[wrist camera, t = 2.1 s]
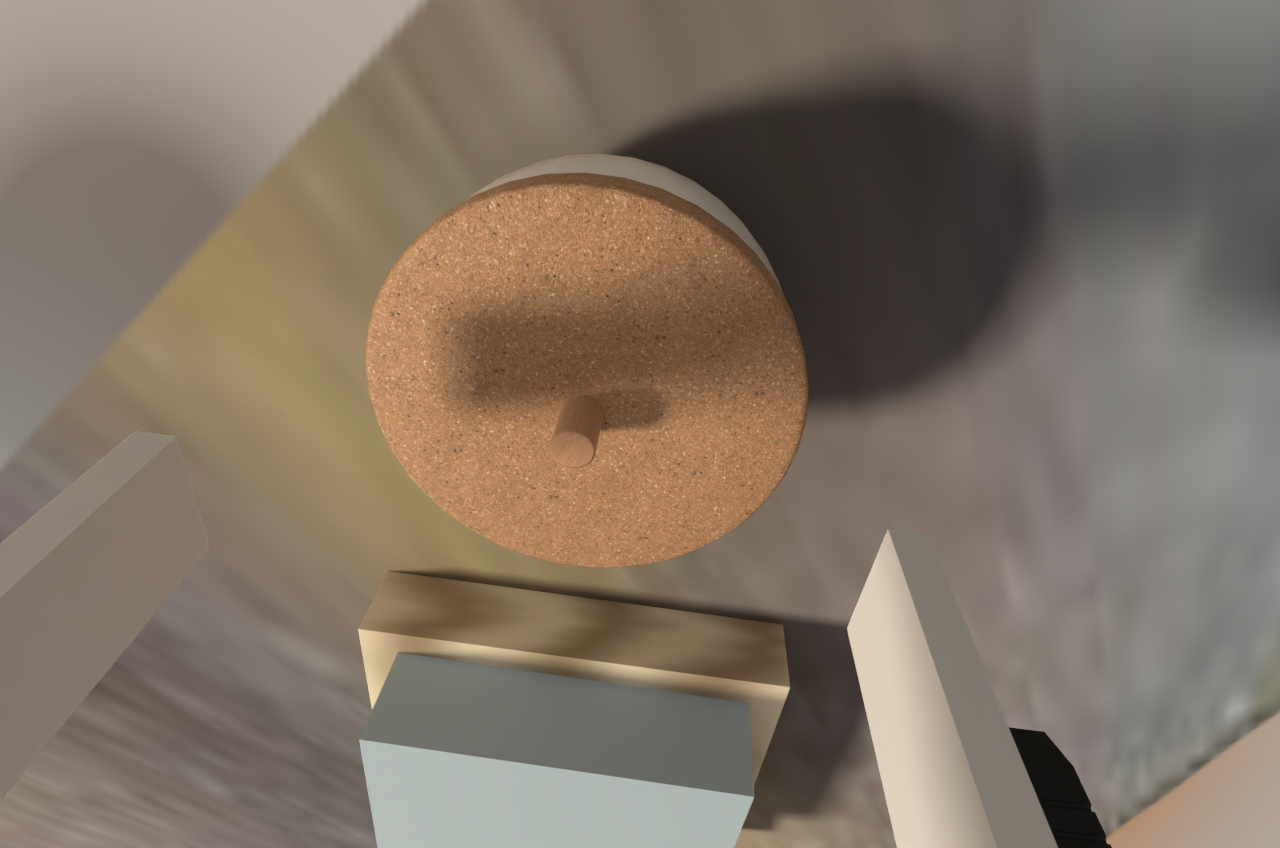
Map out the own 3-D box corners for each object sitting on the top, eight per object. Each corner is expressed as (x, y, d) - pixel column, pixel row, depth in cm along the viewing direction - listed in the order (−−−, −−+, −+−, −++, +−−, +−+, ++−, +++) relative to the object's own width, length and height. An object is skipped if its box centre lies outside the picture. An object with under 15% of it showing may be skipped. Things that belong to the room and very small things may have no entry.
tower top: (749, 703, 30) (754, 797, 26) (690, 869, 38) (689, 956, 35) (398, 651, 30) (359, 739, 26) (416, 829, 38) (388, 913, 35)
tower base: (781, 612, 32) (790, 687, 29) (715, 814, 42) (716, 887, 39) (393, 560, 32) (358, 629, 29) (419, 774, 42) (395, 843, 39)
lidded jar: (415, 337, 25) (283, 508, 17) (534, 38, 20) (421, 89, 12) (675, 465, 27) (663, 667, 19) (849, 228, 22) (930, 378, 14)
